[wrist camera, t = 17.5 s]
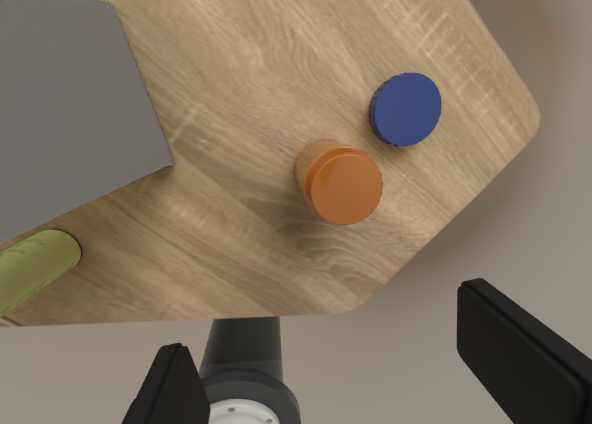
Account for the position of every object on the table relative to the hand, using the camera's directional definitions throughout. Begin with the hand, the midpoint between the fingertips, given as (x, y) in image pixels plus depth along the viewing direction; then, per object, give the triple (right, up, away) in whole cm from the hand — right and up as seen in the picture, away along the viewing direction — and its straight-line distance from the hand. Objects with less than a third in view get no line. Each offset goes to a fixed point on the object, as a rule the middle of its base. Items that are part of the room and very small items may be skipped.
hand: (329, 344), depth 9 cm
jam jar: (+2, +9, +21) cm, 23 cm away
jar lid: (+10, +15, +18) cm, 25 cm away
